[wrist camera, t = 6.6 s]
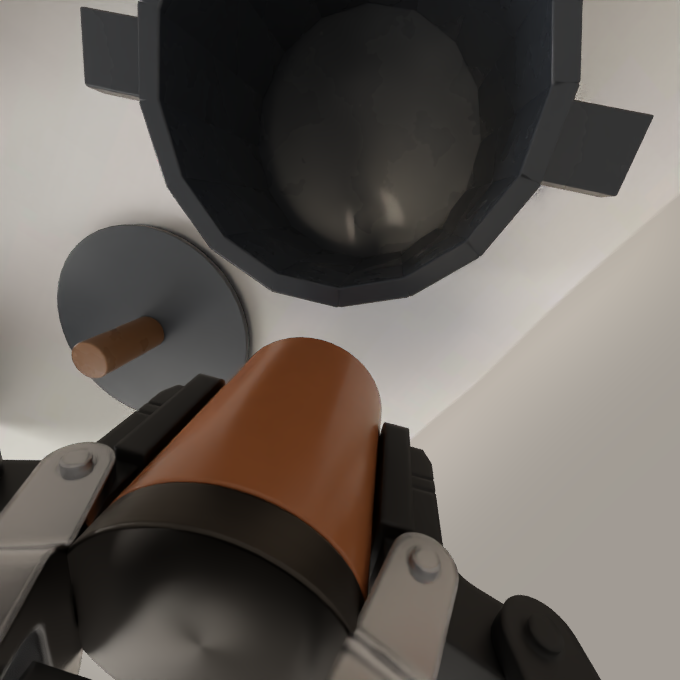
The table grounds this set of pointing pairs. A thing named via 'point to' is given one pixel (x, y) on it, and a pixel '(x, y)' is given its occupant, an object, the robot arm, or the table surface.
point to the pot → (360, 129)
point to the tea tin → (241, 530)
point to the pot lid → (148, 313)
